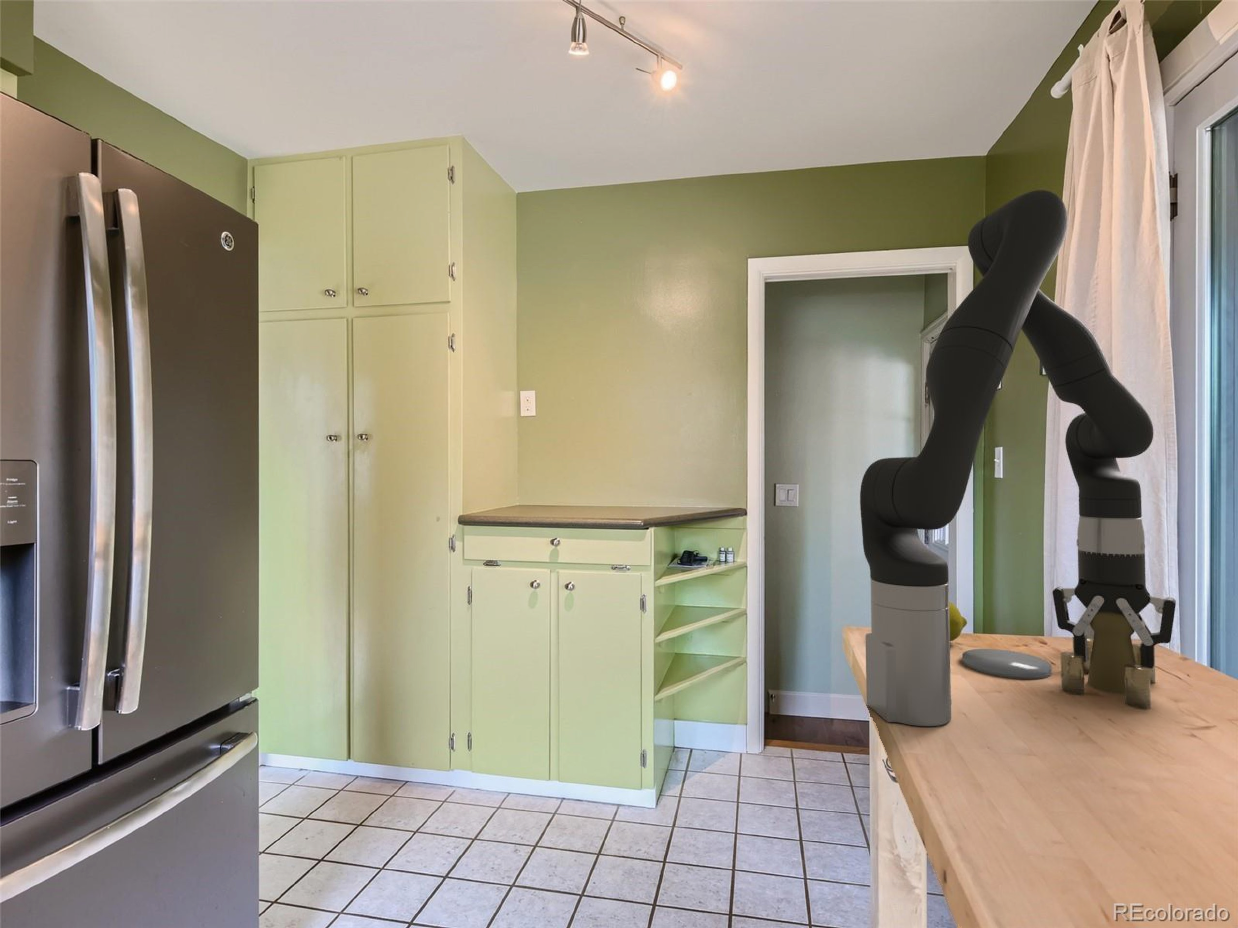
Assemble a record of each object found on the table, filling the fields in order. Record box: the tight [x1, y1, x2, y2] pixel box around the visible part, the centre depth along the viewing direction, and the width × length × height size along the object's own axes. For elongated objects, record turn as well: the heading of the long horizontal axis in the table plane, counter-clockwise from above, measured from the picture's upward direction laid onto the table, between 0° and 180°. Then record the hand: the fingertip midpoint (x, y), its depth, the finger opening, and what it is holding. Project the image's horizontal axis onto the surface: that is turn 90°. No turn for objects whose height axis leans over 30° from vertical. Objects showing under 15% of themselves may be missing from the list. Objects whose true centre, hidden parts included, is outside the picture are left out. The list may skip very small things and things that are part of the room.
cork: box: [1086, 612, 1136, 696], centre depth 87 cm, size 6×6×11 cm
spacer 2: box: [1072, 636, 1093, 675], centre depth 94 cm, size 3×3×5 cm
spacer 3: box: [1132, 643, 1156, 684], centre depth 90 cm, size 3×3×5 cm
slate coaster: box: [961, 648, 1053, 680], centre depth 97 cm, size 12×12×1 cm
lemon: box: [949, 601, 968, 642], centre depth 111 cm, size 11×8×8 cm
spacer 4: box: [1124, 664, 1152, 710], centre depth 81 cm, size 3×3×5 cm
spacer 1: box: [1060, 652, 1086, 696], centre depth 86 cm, size 3×3×5 cm
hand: (1113, 664), depth 87 cm, fingers open, 6 cm apart
